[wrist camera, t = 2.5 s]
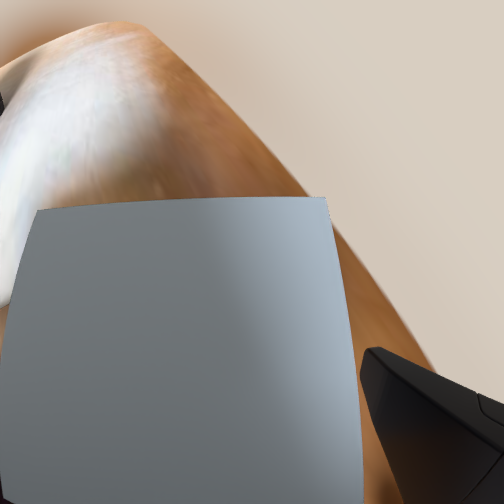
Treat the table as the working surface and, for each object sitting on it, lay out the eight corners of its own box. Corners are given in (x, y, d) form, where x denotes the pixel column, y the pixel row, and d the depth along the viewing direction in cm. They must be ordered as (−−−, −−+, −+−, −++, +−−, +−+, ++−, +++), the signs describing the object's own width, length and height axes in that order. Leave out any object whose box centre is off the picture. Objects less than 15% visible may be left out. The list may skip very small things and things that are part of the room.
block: (272, 446, 13) (363, 537, 2) (170, 446, 12) (3, 498, 2) (267, 351, 15) (325, 197, 5) (170, 352, 15) (37, 210, 4)
